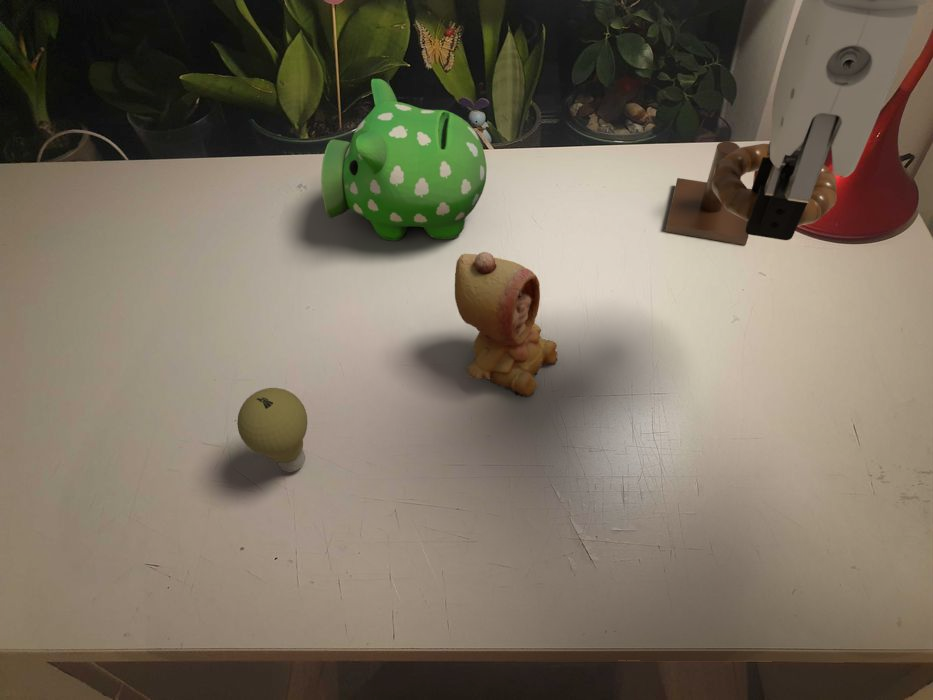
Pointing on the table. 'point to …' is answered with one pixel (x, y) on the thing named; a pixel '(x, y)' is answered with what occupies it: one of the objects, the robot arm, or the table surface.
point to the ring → (743, 198)
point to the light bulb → (274, 426)
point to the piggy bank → (405, 169)
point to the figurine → (502, 321)
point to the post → (705, 208)
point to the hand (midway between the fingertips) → (768, 218)
